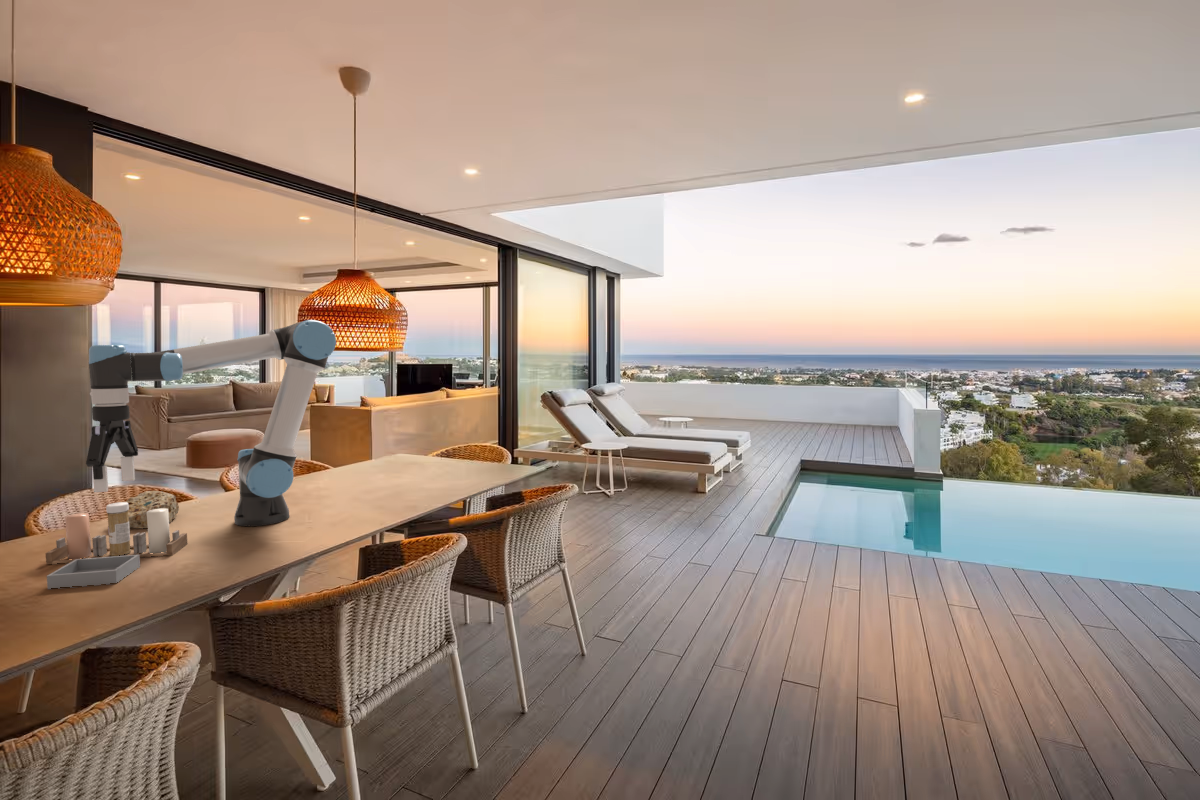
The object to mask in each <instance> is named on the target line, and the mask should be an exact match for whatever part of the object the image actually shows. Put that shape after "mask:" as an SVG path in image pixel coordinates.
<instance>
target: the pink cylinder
mask: <svg viewBox="0 0 1200 800" xmlns="http://www.w3.org/2000/svg"><path fill="white" fill-rule="evenodd" d="M64 519H65V520H64V521H65V532H66V534H65V535H66V536H65V537H66V542H67V549H68V556H67V560H69V559H80V558H83V559H85V558H84V557H87V558H89V557H88V556H90V555H91V556H92V555H93V554H92V552H91V549H92V543H91V542H92V539H91V528H90V527H91V525H90V514H89V513H88V512H79V513H72V514H68V515H65V517H64ZM91 556H90V557H91Z"/></svg>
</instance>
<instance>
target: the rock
mask: <svg viewBox="0 0 1200 800" xmlns="http://www.w3.org/2000/svg"><path fill="white" fill-rule="evenodd" d="M125 502H127V503H128V505H129V510H128V518H129V529H133V528H134V529H143V528H148V525H147V511H149V510H153V509H161V508H166V509H168V514H169V523H171V522H172V520H174V519H175V518H177V514H178V513H179V510H180V505H179V503H178V502H177V500H176V495H174V494H171V493H168V492H164V491H159V490H147V491H144V492H141V493H139V494H138V495H136V496H134V497H133V496H131V497H130V496H129V498H128V499H127V500H126V501H125Z"/></svg>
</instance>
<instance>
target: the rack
mask: <svg viewBox="0 0 1200 800" xmlns="http://www.w3.org/2000/svg"><path fill="white" fill-rule="evenodd" d="M171 537H172V540H170V542H169V543H168V544H166V548H167V552H164V553H153V554H150V553H146V552H147V551H148V550H147V549H148V548H147V547H149V544H147V533H146V531H145V532H136V533H135V534H133V535H132V542H133V543H132V544H133V545H130V548H134V549H133V555H138V554H139V553H143V552H144V553H143V554H139V555H140V557H145V558H152V557H151V556H158V557H164V556H163V555H172V556H174V555H175V554H176V553H178V552H179V551H180V550H181V549H183V548H184V547H186V546H187V545H188V533H187V532H183V533H181V534H180V530H178V529H176V530H174V531H173V532H172V536H171ZM91 542H92V547H91V551H93V552H92V553H93V554H92V555H93V557H94V556H97V557H98V558H100V557H99V556H102V557H104V556H105V555H104V554H106V553H107V554H108V551H107V550H109V551H110V547H109V546H107V535H106V534H103V535H99V534H98V535H95V536H94V537H93V538H92V539H91ZM55 545H56V547H55V548H53V549H50V550H49V551H47V552H45V563H46V564H52V565H58V564H57V563H65V564H68V563H69V562H72V561H74V560H76V559H72V560H69V559H65V558H67V557H68V549H67V541H66V537H61V538H59V539H57V540H56V541H55ZM146 550H147V551H146ZM137 553H138V554H137ZM107 554H106V555H107ZM173 554H174V555H173ZM98 555H99V556H98ZM103 555H104V556H103ZM127 555H128V554H125V556H127ZM66 556H67V557H66ZM64 557H65V558H64ZM62 558H63V559H62ZM60 559H61V560H60ZM84 559H86V558H84Z"/></svg>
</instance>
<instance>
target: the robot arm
mask: <svg viewBox="0 0 1200 800" xmlns="http://www.w3.org/2000/svg"><path fill="white" fill-rule="evenodd" d="M336 345H337V338H336V335H335V332H334V330H333V329H332V328H331V327H330V326H329V324H326V323H324V321H323V322H322V321H321V320H320V321H319V320H315V319H306V320H303V321H299V322H296V323H293V324H290V325H288V326H285V327H280V328H275V329H271V330H270V331H269V332H268V333H264V334H260V335H259V334H258V335H253V336H247V337H241V338H235V339H228V340H222V341H215V342H210V343H204V344H198V345H190V346H186V347H180V348H174V349H170V350H169V349H168V350H161V351H153V352H152V351H151V352H128V350H127V347H126V346H125V345H123V344H122V345H121V344H116V345H115V344H95V345H91V346H90V347H89V349H88V370H89V383H90V392H89V395H90V399H91V404H92V405H94V406H92V407H91V414H92V415H91V417H92V418H91V419H92V420H93V421H95V422H99V425H96V426H95V425H93V426H91V437H90V441H89V447H88V450H87V456H86V460H85V464H86V467H87V468H88V467H89V468H91V467H92V482H93V484H92V485H93V493H107V492H109V482H108V481H109V480H108V465H105V464H106V461H107V458H108V455H109V452H110V450H111V448H112V445H113V444H115V445H116V446H117V448H118V450H119V452H120V453H121V456H120V467H121V482H130V481H134V482H135V480H136V473H135V472H136V471H135V458H134V457H137V456H139V449H138V445H137V442H136V439H135V436H134V433H133V430H132V425H131V421H130V420H129V419H130V417H131V413H130V406H129V405H128V404H129V403H130V395H129V384H128V383H129V382H163V381H165V382H171V381H181V380H182V379H183V376H184V375H187V374H192V373H199V372H202V371H204V372H205V371H208V370H214V369H219V368H225V367H231V366H237V365H242V364H247V363H252V362H257V361H258V362H259V361H262V360H268V359H269V360H270V359H277V360H279V361H281V360H284V362H285V363H286V367H285V370H284V373H283V377H282V378H281V379H282V380H281V383H280V386H279V388H278V391H277V395H276V398H275V401H274V403H273V407H272V410H271V412H270V413H271V414H270V416H269V418H268V422H267V425H266V428H265V431H264V433H263V434H264V435H263V437H262V441H261V442H259V443H258V444H256V445H254V447H253V448H246V449H240V450H239V451H238V454H237V459H236V461H237V462H238V481H239V482H238V483H239V484H238V485H239V499H238V504H237V507H236V510H235V513H234V516H233V517H234V520H233V521H234V524H235V525H236V526H239V527H257V526H258V527H259V526H268V525H274V524H278V523H280V522H283V521H285V520H288V519H289V518H290V510H289V507H288V504H287V502H286V499H285V496H284V494H285V493H286V492H287V491H288V490H289V489H290V487H291V486H292V484H293V481H294V471H293V470H294V466H295V463H296V459H297V456H298V455H297V453H296V452H295V450H294V447H295V445H296V441H297V438H298V435H299V432H300V430H301V426H302V422H303V419H304V416H305V413H306V410H307V407H308V403H309V400H310V397H311V394H312V391H313V387H314V385H315V381H316V378H317V375H318V374H319V373H320V372H322V371H324V370H325V367H326V364H327V362H328V359H329V357H330V356H331V355H332V353H333V352H334V350H335V349H336Z"/></svg>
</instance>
